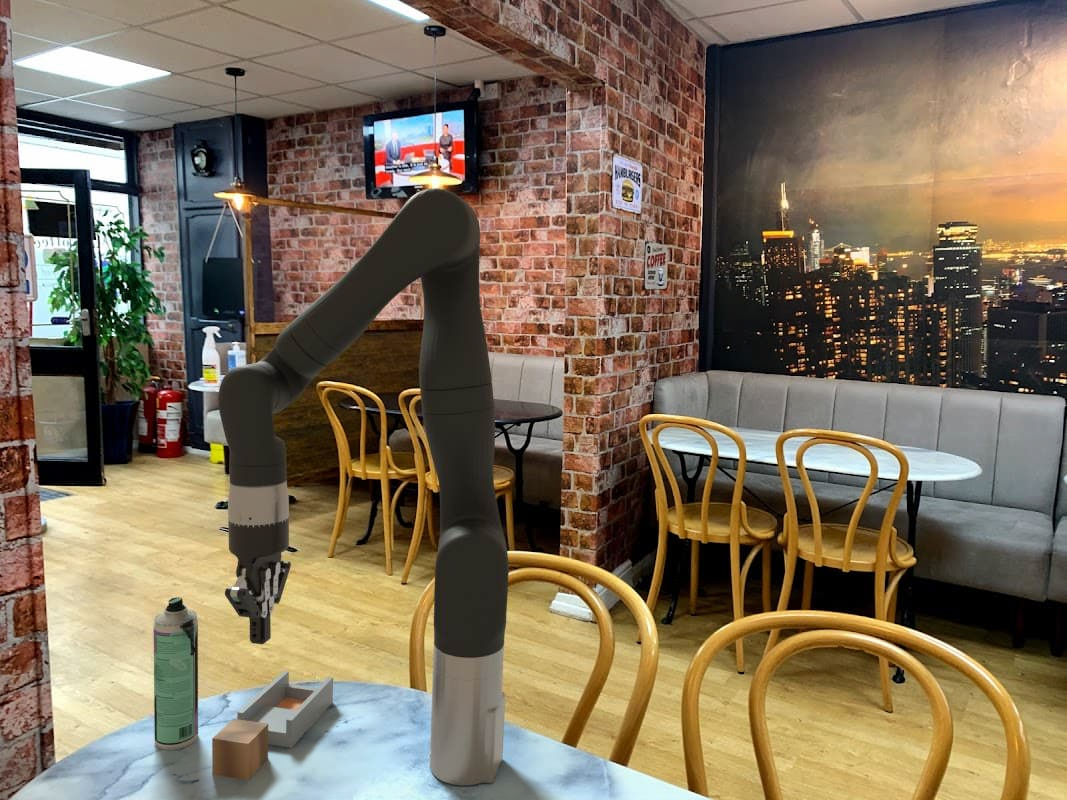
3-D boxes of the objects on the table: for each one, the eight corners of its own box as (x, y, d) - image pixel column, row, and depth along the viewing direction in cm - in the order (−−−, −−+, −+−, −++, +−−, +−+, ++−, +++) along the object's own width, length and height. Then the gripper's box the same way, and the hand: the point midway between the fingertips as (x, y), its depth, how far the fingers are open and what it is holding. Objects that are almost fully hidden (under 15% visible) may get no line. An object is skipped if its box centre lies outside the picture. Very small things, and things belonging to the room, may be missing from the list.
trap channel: (332, 702, 120) (333, 677, 120) (291, 748, 107) (291, 720, 107) (283, 695, 121) (284, 670, 121) (237, 739, 109) (237, 712, 108)
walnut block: (268, 723, 104) (248, 743, 99) (268, 759, 105) (248, 780, 100) (233, 718, 105) (212, 738, 100) (233, 753, 105) (212, 775, 101)
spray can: (205, 730, 111) (205, 593, 108) (184, 751, 105) (184, 608, 103) (168, 726, 111) (167, 590, 109) (146, 747, 106) (144, 605, 103)
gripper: (258, 531, 96) (260, 666, 98) (309, 505, 109) (309, 625, 111) (202, 526, 97) (205, 659, 99) (259, 501, 110) (260, 619, 112)
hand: (260, 641), depth 105 cm, fingers closed
